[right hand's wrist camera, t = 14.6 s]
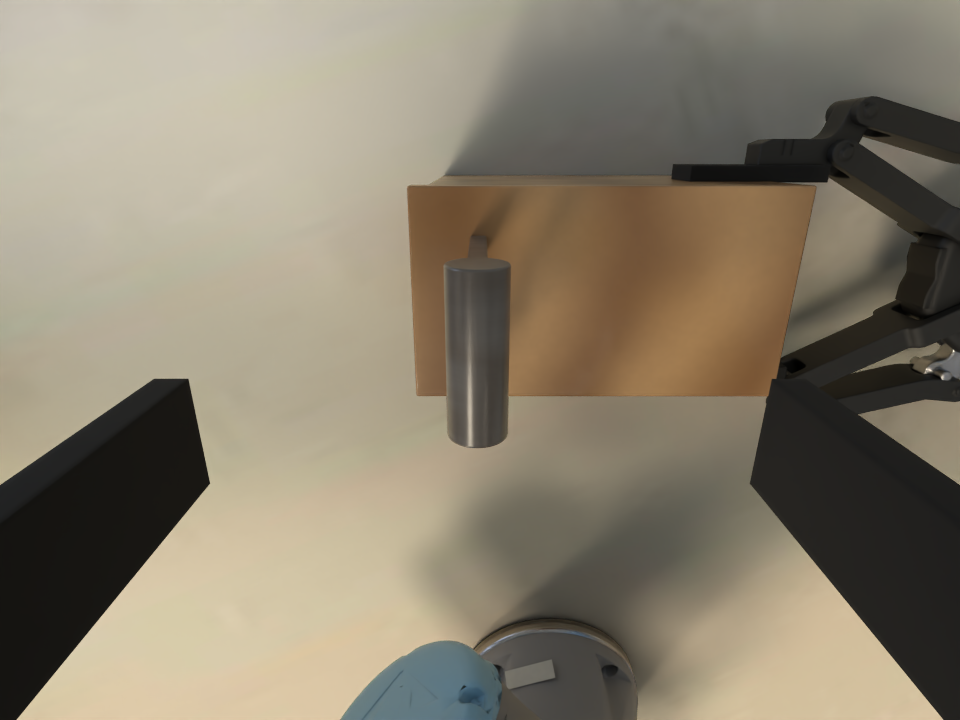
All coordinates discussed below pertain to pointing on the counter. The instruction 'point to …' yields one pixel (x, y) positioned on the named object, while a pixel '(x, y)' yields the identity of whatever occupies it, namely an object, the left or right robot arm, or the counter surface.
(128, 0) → the counter surface
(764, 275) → the lid
